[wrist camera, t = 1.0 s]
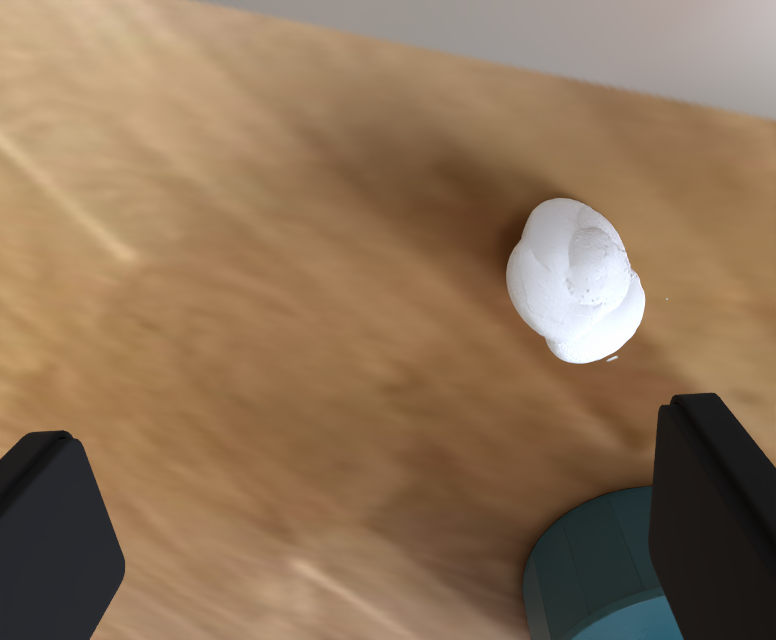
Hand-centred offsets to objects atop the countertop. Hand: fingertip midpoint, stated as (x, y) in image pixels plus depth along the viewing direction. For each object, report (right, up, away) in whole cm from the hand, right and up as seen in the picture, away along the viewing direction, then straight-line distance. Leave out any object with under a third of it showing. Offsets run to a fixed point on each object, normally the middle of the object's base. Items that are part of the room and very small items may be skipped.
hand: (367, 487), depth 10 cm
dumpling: (+8, +5, +17) cm, 19 cm away
